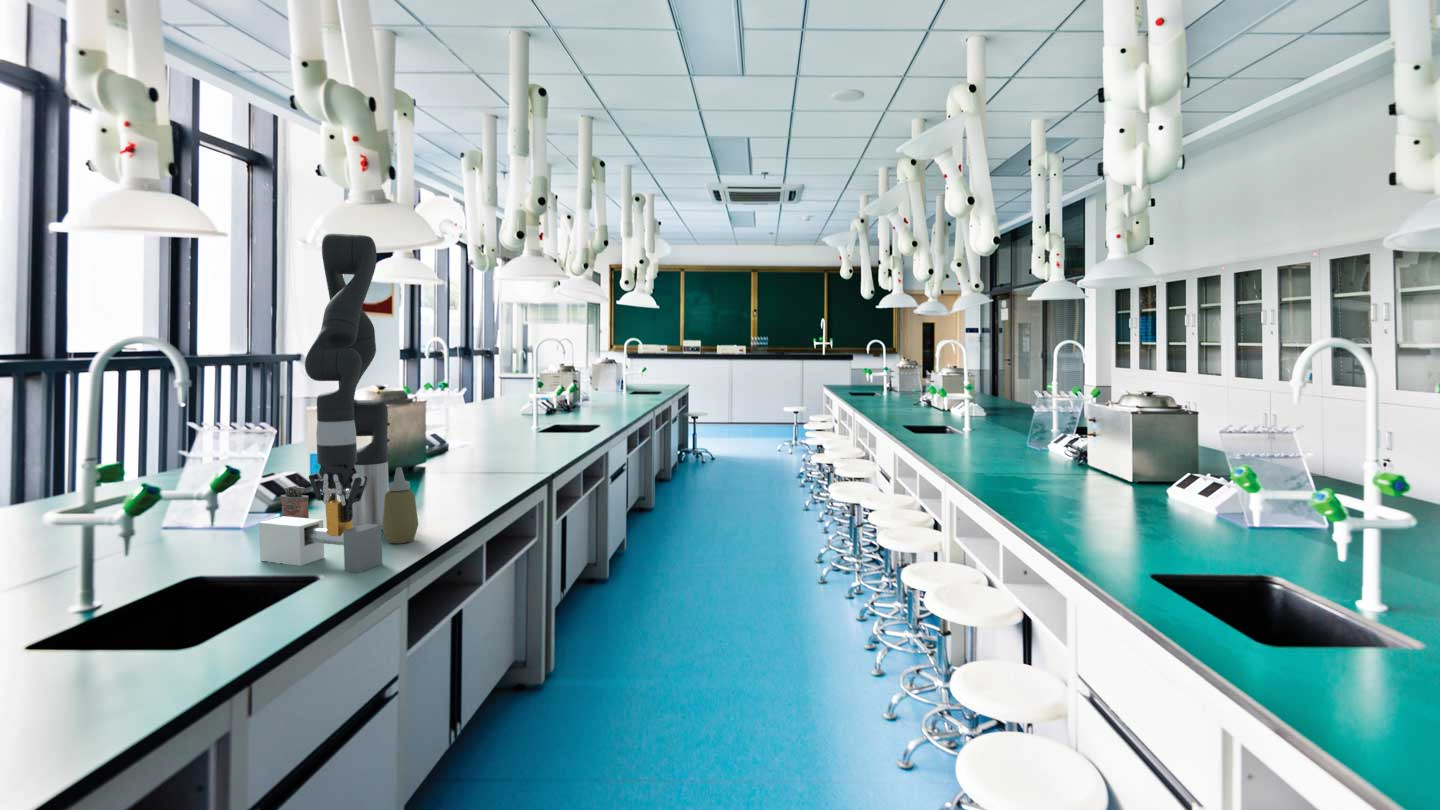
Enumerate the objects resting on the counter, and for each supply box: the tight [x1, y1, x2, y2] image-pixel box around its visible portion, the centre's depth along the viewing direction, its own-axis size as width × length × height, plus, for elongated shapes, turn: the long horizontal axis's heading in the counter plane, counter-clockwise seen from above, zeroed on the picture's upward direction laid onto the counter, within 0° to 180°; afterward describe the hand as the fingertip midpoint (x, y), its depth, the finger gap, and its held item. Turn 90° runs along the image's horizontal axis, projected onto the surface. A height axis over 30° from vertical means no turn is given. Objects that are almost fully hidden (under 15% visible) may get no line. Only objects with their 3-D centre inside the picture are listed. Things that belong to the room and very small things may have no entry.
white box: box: [258, 516, 325, 567], centre depth 162 cm, size 11×6×9 cm, turn 74°
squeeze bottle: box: [382, 466, 419, 545], centre depth 178 cm, size 8×8×18 cm
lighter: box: [280, 485, 310, 519], centre depth 194 cm, size 8×3×10 cm, turn 73°
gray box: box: [343, 524, 383, 573], centre depth 157 cm, size 4×6×9 cm, turn 164°
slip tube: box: [304, 498, 353, 546], centre depth 159 cm, size 18×4×10 cm, turn 74°
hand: (339, 520), depth 158 cm, fingers closed on slip tube, 3 cm apart
